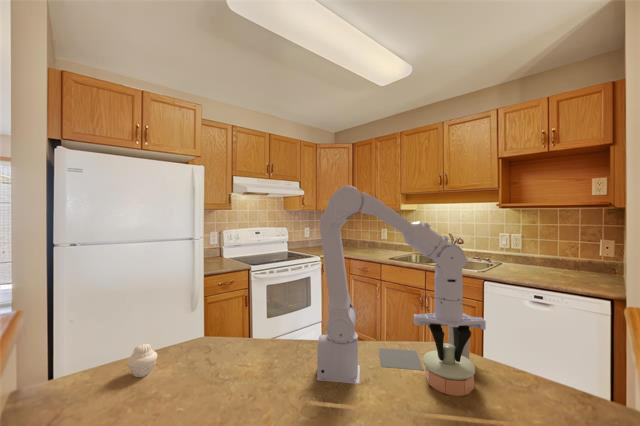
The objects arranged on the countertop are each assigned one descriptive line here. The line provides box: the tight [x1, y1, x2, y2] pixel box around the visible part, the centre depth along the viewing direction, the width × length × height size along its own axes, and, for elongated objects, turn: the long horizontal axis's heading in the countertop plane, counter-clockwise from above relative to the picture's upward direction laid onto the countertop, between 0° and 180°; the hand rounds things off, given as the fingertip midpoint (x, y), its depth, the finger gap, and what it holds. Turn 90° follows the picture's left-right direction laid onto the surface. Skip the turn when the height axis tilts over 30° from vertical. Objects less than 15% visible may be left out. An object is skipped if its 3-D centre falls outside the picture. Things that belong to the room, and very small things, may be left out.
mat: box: [378, 347, 424, 371], centre depth 74 cm, size 10×10×1 cm
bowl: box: [425, 367, 475, 397], centre depth 63 cm, size 9×9×4 cm
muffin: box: [126, 343, 158, 378], centre depth 68 cm, size 6×6×7 cm
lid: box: [422, 342, 476, 380], centre depth 64 cm, size 10×10×4 cm
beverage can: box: [447, 312, 470, 360], centre depth 74 cm, size 5×5×12 cm
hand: (448, 359), depth 63 cm, fingers closed on lid, 3 cm apart
